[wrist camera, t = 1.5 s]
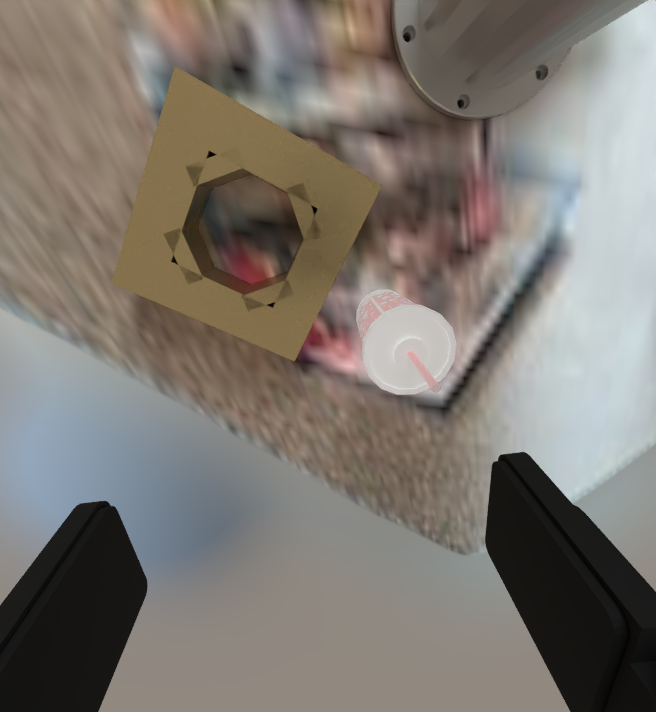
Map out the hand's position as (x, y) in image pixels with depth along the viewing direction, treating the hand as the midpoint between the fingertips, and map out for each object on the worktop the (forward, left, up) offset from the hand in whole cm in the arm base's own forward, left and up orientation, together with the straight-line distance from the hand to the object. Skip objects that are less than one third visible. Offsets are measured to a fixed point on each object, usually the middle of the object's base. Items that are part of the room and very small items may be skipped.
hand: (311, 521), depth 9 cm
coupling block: (+2, -7, -24) cm, 25 cm away
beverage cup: (-6, +3, -24) cm, 25 cm away
